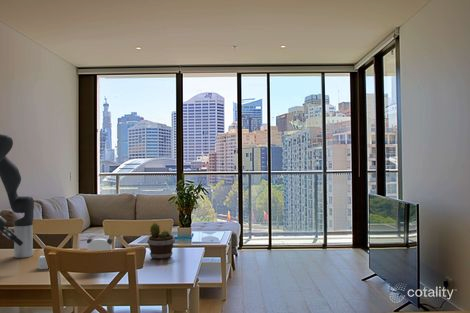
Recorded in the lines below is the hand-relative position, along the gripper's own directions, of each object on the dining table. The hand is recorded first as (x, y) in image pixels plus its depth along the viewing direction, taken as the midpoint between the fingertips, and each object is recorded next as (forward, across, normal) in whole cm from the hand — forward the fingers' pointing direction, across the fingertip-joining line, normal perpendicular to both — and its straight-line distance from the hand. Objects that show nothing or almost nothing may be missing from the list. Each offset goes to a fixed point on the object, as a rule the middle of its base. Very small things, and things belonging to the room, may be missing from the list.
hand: (21, 244), depth 210 cm
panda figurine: (+31, -23, -13) cm, 40 cm away
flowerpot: (+55, -16, -38) cm, 69 cm away
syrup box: (+12, -2, +1) cm, 12 cm away
